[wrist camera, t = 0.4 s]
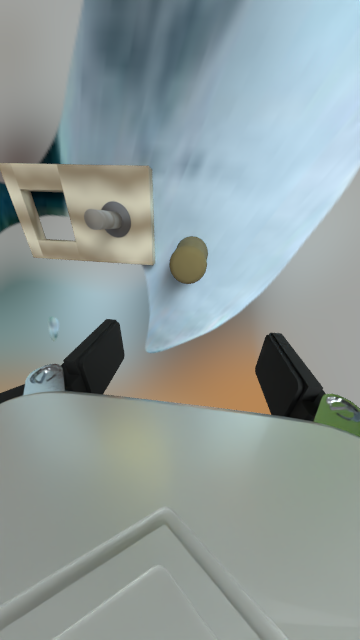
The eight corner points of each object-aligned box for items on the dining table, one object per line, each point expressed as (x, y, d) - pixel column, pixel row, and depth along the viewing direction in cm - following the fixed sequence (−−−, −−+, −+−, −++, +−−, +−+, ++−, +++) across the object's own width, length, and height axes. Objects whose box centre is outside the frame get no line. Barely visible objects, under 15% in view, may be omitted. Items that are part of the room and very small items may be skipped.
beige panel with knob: (10, 166, 28) (-64, 145, 20) (152, 169, 26) (131, 147, 18) (41, 255, 35) (-4, 265, 27) (155, 262, 33) (141, 275, 25)
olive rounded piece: (201, 274, 33) (201, 294, 24) (172, 265, 33) (160, 282, 24) (212, 241, 30) (217, 250, 21) (180, 232, 30) (170, 236, 21)
